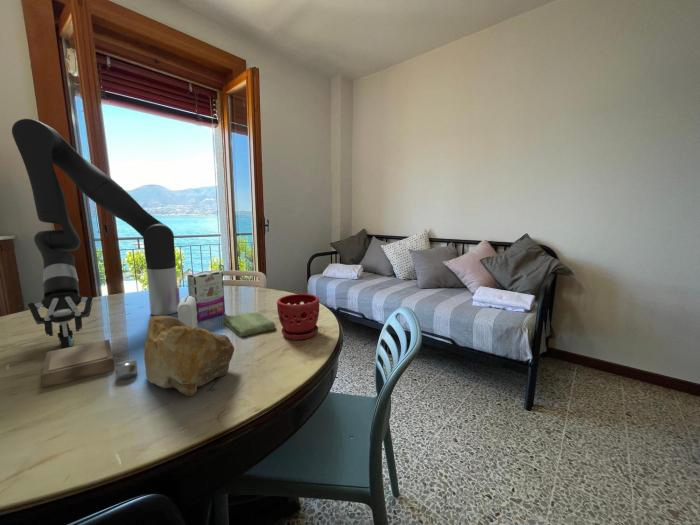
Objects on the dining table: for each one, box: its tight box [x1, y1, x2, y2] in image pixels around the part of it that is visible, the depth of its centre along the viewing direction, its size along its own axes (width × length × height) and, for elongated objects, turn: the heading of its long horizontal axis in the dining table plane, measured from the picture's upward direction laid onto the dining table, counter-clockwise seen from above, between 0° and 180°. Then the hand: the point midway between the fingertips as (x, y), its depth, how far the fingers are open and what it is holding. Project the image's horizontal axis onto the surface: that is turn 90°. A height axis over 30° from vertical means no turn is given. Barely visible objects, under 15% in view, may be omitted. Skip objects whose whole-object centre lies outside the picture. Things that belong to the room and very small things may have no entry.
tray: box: [41, 339, 115, 389], centre depth 73 cm, size 12×14×3 cm
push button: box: [49, 309, 75, 349], centre depth 84 cm, size 7×5×10 cm
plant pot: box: [276, 293, 320, 341], centre depth 94 cm, size 13×13×12 cm
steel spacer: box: [114, 359, 139, 381], centre depth 69 cm, size 4×4×3 cm
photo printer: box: [177, 295, 199, 328], centre depth 91 cm, size 10×4×12 cm, turn 20°
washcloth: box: [223, 311, 276, 338], centre depth 102 cm, size 13×18×3 cm
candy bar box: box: [186, 270, 226, 323], centre depth 109 cm, size 11×5×16 cm, turn 148°
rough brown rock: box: [143, 315, 235, 397], centre depth 68 cm, size 23×17×15 cm
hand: (64, 332), depth 83 cm, fingers closed on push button, 4 cm apart
